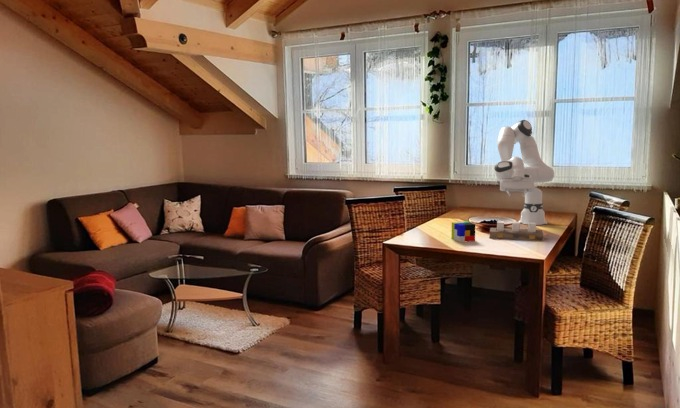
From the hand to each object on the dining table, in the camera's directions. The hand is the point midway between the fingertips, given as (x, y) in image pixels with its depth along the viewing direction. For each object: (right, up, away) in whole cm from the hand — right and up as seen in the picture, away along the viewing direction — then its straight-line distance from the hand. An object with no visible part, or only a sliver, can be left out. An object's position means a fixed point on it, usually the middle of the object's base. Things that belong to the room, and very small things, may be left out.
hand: (516, 195), depth 319 cm
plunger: (+5, -23, -12) cm, 26 cm away
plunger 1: (-12, -22, -7) cm, 26 cm away
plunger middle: (-4, -22, -9) cm, 24 cm away
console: (-4, -25, -9) cm, 27 cm away
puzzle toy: (-36, -27, -13) cm, 47 cm away
